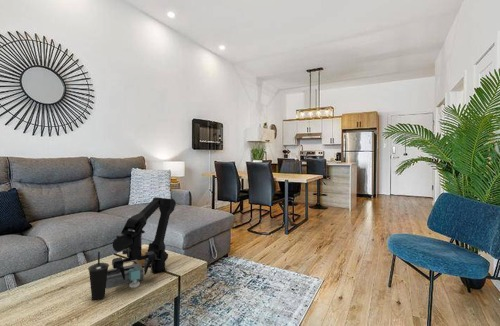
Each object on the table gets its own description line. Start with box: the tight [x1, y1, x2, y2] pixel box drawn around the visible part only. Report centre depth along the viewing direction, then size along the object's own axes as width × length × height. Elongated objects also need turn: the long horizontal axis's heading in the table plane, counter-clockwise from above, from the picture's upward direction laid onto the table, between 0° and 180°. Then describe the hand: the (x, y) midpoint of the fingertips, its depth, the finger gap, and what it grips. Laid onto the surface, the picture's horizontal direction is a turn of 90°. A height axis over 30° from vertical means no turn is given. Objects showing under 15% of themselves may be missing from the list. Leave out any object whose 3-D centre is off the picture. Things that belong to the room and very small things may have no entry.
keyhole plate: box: [106, 263, 145, 290], centre depth 125 cm, size 18×9×5 cm, turn 126°
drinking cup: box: [87, 251, 110, 302], centre depth 109 cm, size 8×8×20 cm
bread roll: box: [133, 248, 151, 267], centre depth 145 cm, size 10×15×8 cm, turn 47°
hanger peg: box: [128, 267, 141, 289], centre depth 120 cm, size 4×4×8 cm
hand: (134, 277), depth 120 cm, fingers open, 9 cm apart
